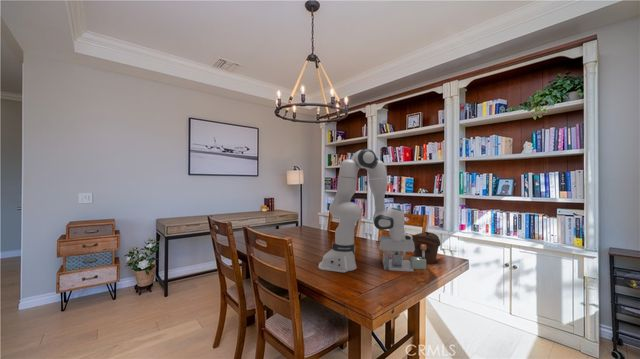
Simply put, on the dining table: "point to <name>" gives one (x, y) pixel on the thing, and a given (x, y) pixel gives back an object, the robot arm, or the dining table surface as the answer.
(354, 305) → the dining table surface
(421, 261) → the ram guide
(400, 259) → the block
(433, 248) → the case
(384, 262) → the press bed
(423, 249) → the ram
